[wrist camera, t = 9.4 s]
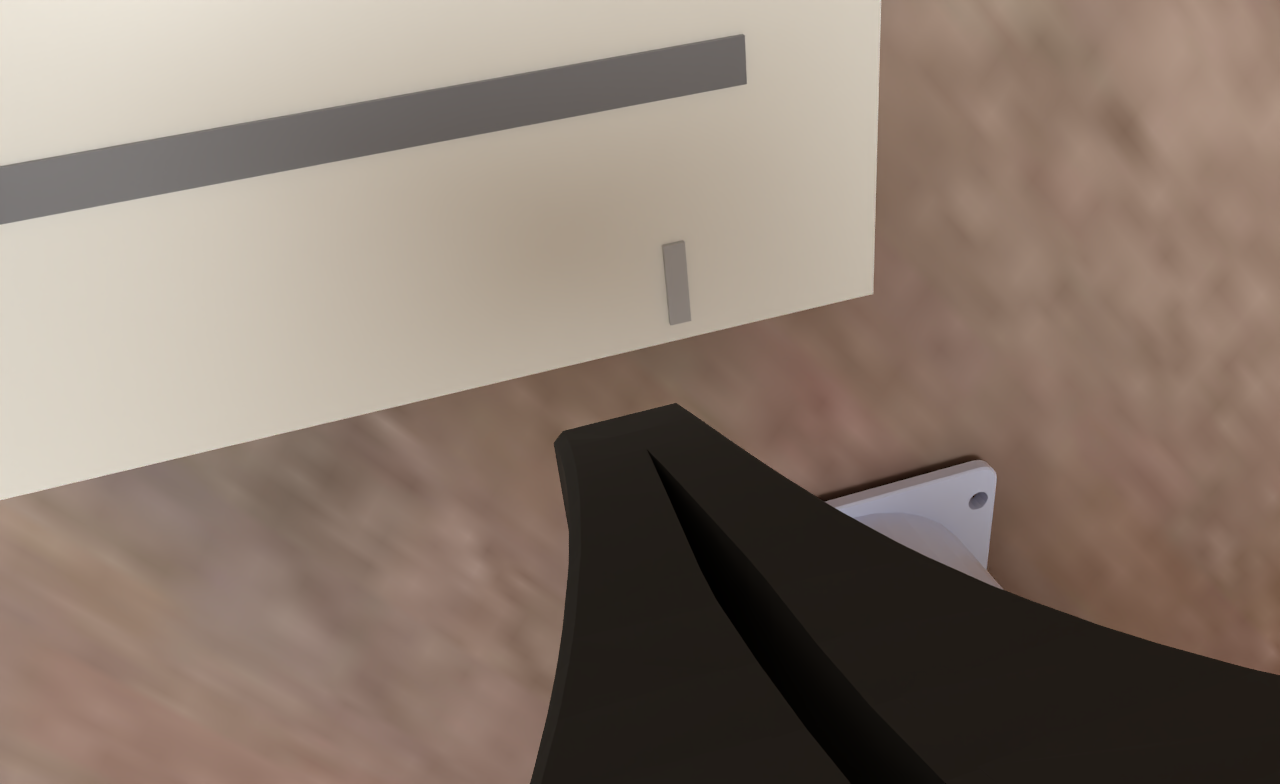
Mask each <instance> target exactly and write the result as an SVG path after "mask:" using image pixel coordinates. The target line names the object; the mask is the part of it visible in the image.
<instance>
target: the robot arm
mask: <svg viewBox="0 0 1280 784" xmlns="http://www.w3.org/2000/svg"><path fill="white" fill-rule="evenodd" d="M554 447H555V453H556V459H557V465H558V471H559V476H560V482H561V488H562V494H563V499H564V505H565V511H566V517H567V522H568V528H569V567H568V580H567V590H566V600H565V610H564V620H563V630H562V637H561V644H560V650H559V657H558V663H557V669H556V675H555V680H554V685H553V690H552V695H551V700H550V705H549V710H548V714H547V719H546V723H545V727H544V731H543V735H542V739H541V743H540V747H539V751H538V755H537V759H536V763H535V767H534V771H533V775H532V779H531V782H530V784H1280V675H1276V674H1271V673H1266V672H1262V671H1257V670H1253V669H1249V668H1245V667H1241V666H1237V665H1234V664H1230V663H1226V662H1223V661H1219V660H1216V659H1212V658H1208V657H1205V656H1201V655H1197V654H1194V653H1190V652H1187V651H1183V650H1179V649H1176V648H1172V647H1169V646H1165V645H1161V644H1158V643H1154V642H1151V641H1148V640H1145V639H1142V638H1138V637H1135V636H1132V635H1129V634H1126V633H1122V632H1119V631H1116V630H1113V629H1110V628H1106V627H1103V626H1100V625H1097V624H1095V623H1092V622H1089V621H1086V620H1083V619H1081V618H1078V617H1075V616H1072V615H1069V614H1067V613H1064V612H1061V611H1058V610H1055V609H1053V608H1050V607H1047V606H1044V605H1041V604H1039V603H1036V602H1033V601H1030V600H1027V599H1025V598H1022V597H1020V596H1017V595H1015V594H1012V593H1010V592H1007V591H1005V590H1004V589H1003V588H1002V587H1001V586H1000V585H999V584H998V583H997V582H996V580H995V579H994V578H993V577H992V576H991V575H990V574H989V573H988V571H987V563H988V554H989V545H990V536H991V527H992V518H993V509H994V500H995V491H996V482H997V475H996V472H995V471H994V469H993V468H992V467H991V466H990V465H989V464H988V463H987V462H985V461H982V460H973V461H970V462H966V463H963V464H959V465H955V466H952V467H948V468H944V469H941V470H937V471H934V472H930V473H926V474H923V475H919V476H915V477H912V478H908V479H905V480H901V481H897V482H894V483H890V484H886V485H883V486H879V487H876V488H872V489H868V490H865V491H861V492H858V493H854V494H850V495H847V496H843V497H839V498H836V499H832V500H829V501H825V502H824V501H822V500H821V499H819V498H817V497H816V496H814V495H813V494H811V493H810V492H808V491H806V490H805V489H803V488H802V487H800V486H798V485H797V484H795V483H794V482H792V481H790V480H789V479H787V478H786V477H784V476H782V475H781V474H779V473H778V472H776V471H775V470H773V469H772V468H770V467H769V466H767V465H766V464H764V463H763V462H761V461H760V460H758V459H757V458H755V457H754V456H752V455H751V454H749V453H748V452H746V451H745V450H744V449H742V448H741V447H739V446H738V445H736V444H735V443H733V442H732V441H730V440H729V439H728V438H726V437H725V436H723V435H722V434H720V433H719V432H718V431H716V430H715V429H713V428H712V427H710V426H709V425H708V424H706V423H705V422H703V421H702V420H700V419H699V418H697V417H696V416H695V415H693V414H692V413H690V412H689V411H687V410H686V409H684V408H683V407H681V406H680V405H678V404H677V403H674V404H670V405H666V406H662V407H658V408H654V409H650V410H646V411H642V412H638V413H634V414H630V415H626V416H622V417H618V418H614V419H610V420H606V421H602V422H598V423H594V424H590V425H586V426H582V427H578V428H574V429H570V430H566V431H563V432H562V433H561V434H560V436H559V437H558V438H557V440H556V441H555V442H554ZM975 494H976V495H975ZM973 495H975V496H974V497H973V498H972V496H973ZM971 498H972V499H971Z"/></svg>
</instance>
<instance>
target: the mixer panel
mask: <svg viewBox="0 0 1280 784" xmlns="http://www.w3.org/2000/svg"><path fill="white" fill-rule="evenodd" d="M880 27H881V0H0V500H3V499H7V498H11V497H16V496H20V495H24V494H28V493H33V492H37V491H41V490H45V489H50V488H54V487H58V486H62V485H67V484H71V483H75V482H79V481H83V480H88V479H92V478H96V477H100V476H105V475H109V474H113V473H117V472H122V471H126V470H130V469H134V468H138V467H143V466H147V465H151V464H155V463H160V462H164V461H168V460H172V459H177V458H181V457H185V456H189V455H193V454H198V453H202V452H206V451H210V450H215V449H219V448H223V447H227V446H232V445H236V444H240V443H244V442H248V441H253V440H257V439H261V438H265V437H270V436H274V435H278V434H282V433H287V432H291V431H295V430H299V429H304V428H308V427H312V426H316V425H320V424H325V423H329V422H333V421H337V420H342V419H346V418H350V417H354V416H359V415H363V414H367V413H371V412H375V411H380V410H384V409H388V408H392V407H397V406H401V405H405V404H409V403H414V402H418V401H422V400H426V399H430V398H435V397H439V396H443V395H447V394H452V393H456V392H460V391H464V390H469V389H473V388H477V387H481V386H486V385H490V384H494V383H498V382H502V381H507V380H511V379H515V378H519V377H524V376H528V375H532V374H536V373H541V372H545V371H549V370H553V369H557V368H562V367H566V366H570V365H574V364H579V363H583V362H587V361H591V360H596V359H600V358H604V357H608V356H612V355H617V354H621V353H625V352H629V351H634V350H638V349H642V348H646V347H651V346H655V345H659V344H663V343H667V342H672V341H676V340H680V339H684V338H689V337H693V336H697V335H701V334H706V333H710V332H714V331H718V330H723V329H727V328H731V327H735V326H739V325H744V324H748V323H752V322H756V321H761V320H765V319H769V318H773V317H778V316H782V315H786V314H790V313H794V312H799V311H803V310H807V309H811V308H816V307H820V306H824V305H828V304H833V303H837V302H841V301H845V300H849V299H854V298H858V297H862V296H866V295H871V294H873V284H874V247H875V210H876V174H877V137H878V100H879V63H880Z"/></svg>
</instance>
